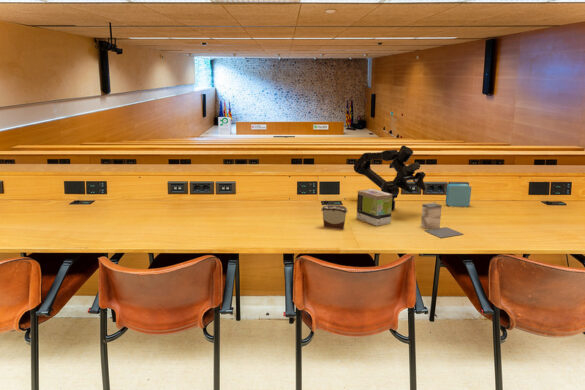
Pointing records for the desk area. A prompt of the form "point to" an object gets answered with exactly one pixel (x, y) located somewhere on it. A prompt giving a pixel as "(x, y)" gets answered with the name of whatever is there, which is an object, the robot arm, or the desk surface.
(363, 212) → the tea box
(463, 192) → the teal square slab
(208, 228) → the desk surface
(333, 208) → the food container
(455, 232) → the mat
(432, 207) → the cream block
